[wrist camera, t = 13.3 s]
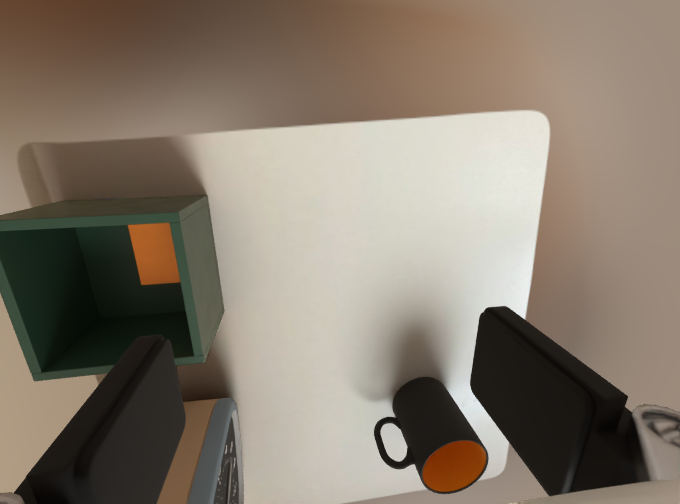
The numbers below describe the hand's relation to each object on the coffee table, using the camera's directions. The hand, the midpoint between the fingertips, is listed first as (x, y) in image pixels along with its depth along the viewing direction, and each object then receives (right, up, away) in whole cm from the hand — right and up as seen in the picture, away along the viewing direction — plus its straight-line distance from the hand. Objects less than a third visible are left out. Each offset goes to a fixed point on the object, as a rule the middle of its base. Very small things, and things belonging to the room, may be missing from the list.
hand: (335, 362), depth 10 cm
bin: (-20, +2, +25) cm, 32 cm away
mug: (+10, -18, +37) cm, 42 cm away
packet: (-18, +4, +24) cm, 30 cm away
